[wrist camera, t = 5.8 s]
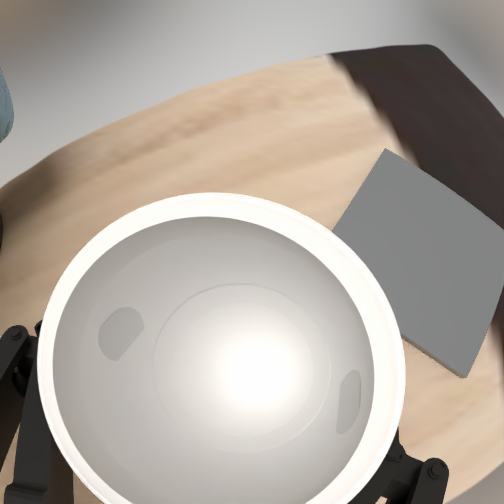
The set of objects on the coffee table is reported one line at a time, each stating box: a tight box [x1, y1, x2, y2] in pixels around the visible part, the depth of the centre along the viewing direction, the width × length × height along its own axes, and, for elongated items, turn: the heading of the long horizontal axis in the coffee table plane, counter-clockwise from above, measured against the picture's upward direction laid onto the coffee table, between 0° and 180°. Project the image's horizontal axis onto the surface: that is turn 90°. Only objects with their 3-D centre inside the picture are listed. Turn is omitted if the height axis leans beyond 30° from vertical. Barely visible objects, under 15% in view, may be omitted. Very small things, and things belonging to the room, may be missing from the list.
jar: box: [37, 193, 405, 504], centre depth 14 cm, size 11×10×15 cm
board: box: [332, 148, 504, 378], centre depth 26 cm, size 18×16×1 cm
